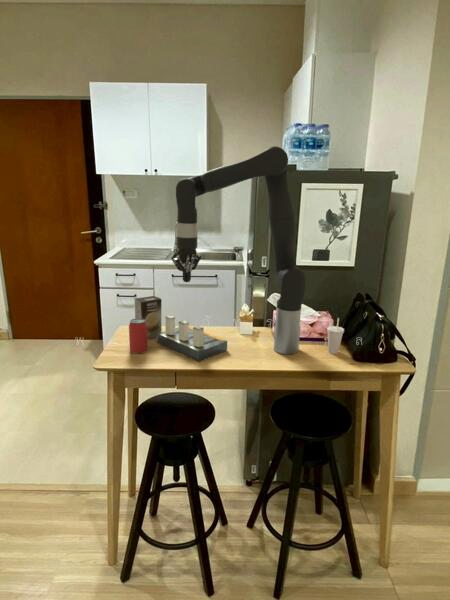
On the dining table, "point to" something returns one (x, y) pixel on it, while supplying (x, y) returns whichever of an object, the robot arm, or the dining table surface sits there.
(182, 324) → the handle
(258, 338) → the dining table surface
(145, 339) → the beer can
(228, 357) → the dining table surface
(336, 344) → the smoothie
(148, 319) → the coffee box
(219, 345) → the panel
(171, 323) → the handle
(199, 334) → the handle
